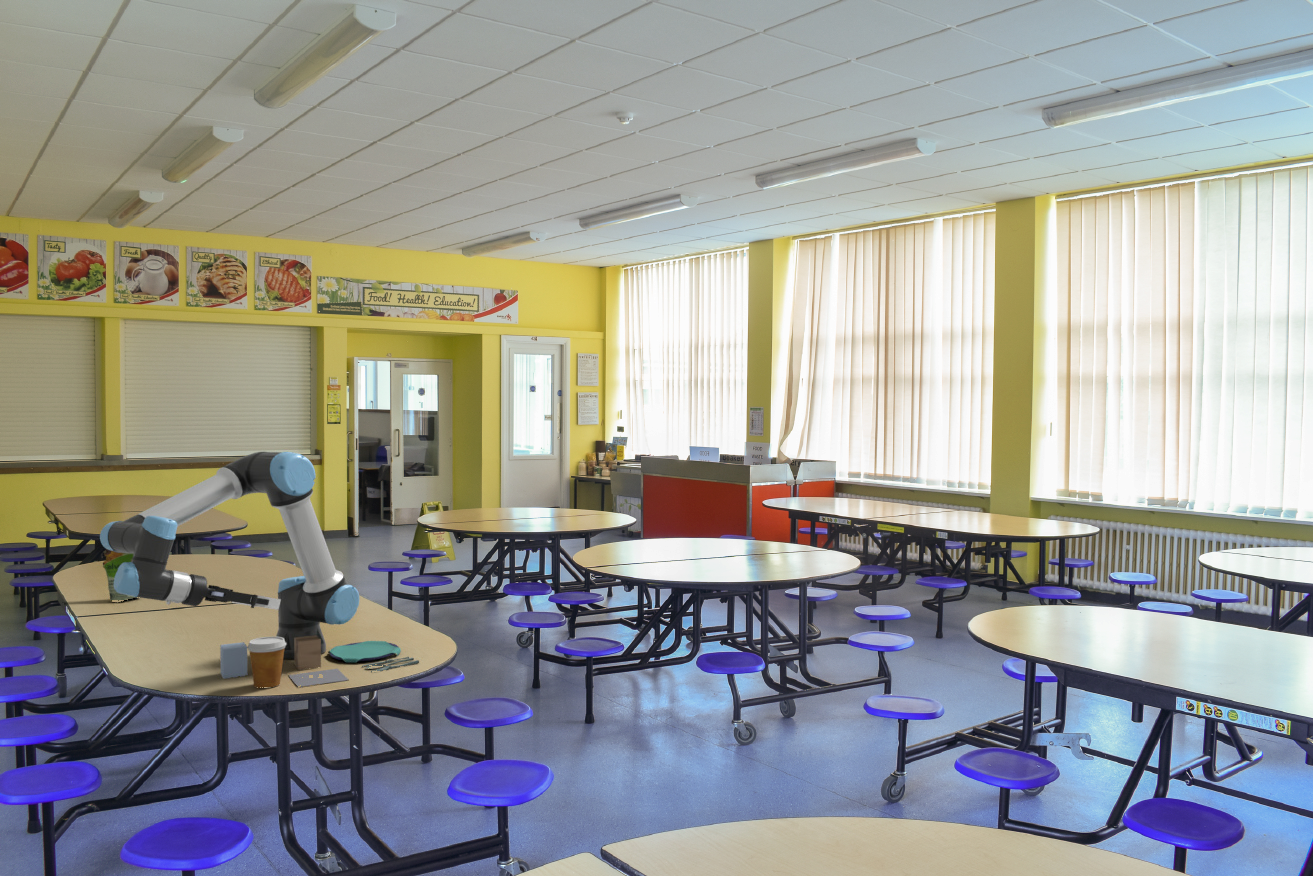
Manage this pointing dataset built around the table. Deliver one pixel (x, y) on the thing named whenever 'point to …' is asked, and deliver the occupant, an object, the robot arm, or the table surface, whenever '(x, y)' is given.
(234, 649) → the slate block
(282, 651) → the disposable coffee cup
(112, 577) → the pouch
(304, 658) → the walnut block
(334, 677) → the mat
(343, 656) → the cutlery set
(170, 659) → the table surface
